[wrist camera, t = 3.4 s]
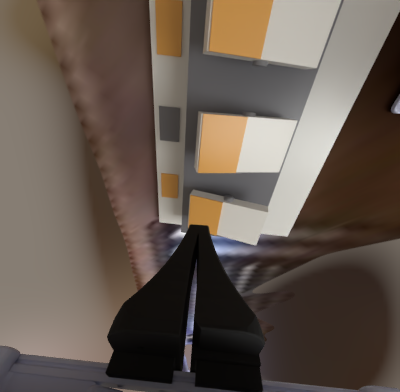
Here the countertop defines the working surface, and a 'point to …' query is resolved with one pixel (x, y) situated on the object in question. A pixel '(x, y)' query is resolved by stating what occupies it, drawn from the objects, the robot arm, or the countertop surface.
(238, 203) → the block
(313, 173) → the switch unit
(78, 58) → the countertop surface
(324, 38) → the rocker
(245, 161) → the rocker
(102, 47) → the countertop surface
